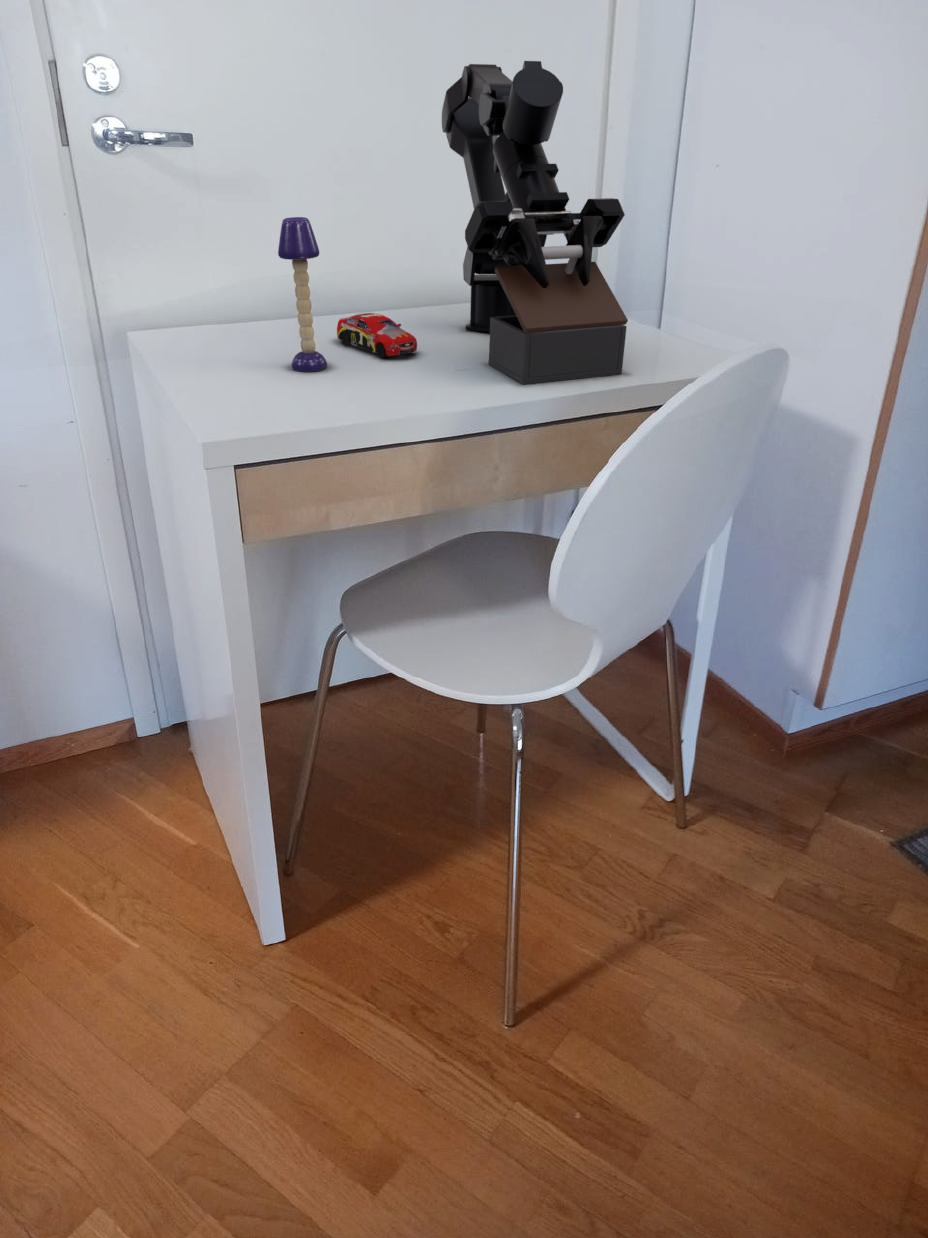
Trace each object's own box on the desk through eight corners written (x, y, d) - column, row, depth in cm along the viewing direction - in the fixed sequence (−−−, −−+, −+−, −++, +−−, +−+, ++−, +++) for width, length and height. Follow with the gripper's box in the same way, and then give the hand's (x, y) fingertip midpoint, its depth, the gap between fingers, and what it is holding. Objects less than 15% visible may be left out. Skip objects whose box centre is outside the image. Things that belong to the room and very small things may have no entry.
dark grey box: (488, 364, 117) (490, 317, 115) (582, 355, 122) (586, 309, 119) (522, 384, 110) (525, 334, 107) (621, 374, 115) (626, 325, 112)
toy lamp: (293, 373, 112) (283, 221, 104) (281, 364, 115) (270, 216, 107) (332, 369, 114) (324, 219, 106) (318, 360, 117) (310, 214, 109)
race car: (424, 356, 120) (425, 324, 118) (389, 363, 117) (389, 330, 115) (365, 335, 129) (364, 305, 127) (331, 340, 126) (330, 309, 124)
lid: (494, 271, 111) (504, 240, 108) (593, 265, 116) (605, 235, 113) (524, 333, 107) (536, 302, 104) (626, 324, 112) (640, 295, 108)
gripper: (568, 219, 124) (606, 321, 120) (436, 223, 117) (472, 332, 114) (604, 154, 114) (647, 263, 110) (463, 155, 107) (503, 271, 104)
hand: (566, 284), depth 110 cm, fingers closed on lid, 5 cm apart
